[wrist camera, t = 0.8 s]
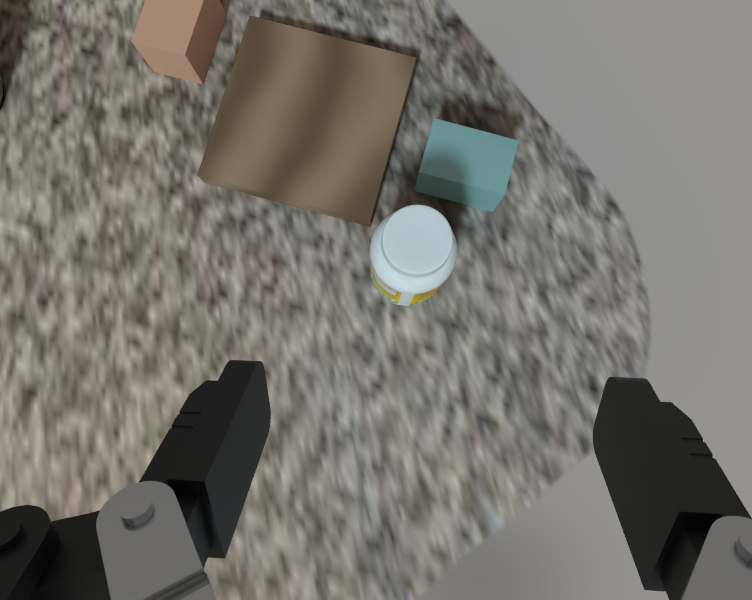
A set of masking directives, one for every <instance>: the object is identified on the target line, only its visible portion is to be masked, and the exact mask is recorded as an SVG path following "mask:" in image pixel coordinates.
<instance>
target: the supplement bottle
mask: <svg viewBox="0 0 752 600" xmlns="http://www.w3.org/2000/svg"><path fill="white" fill-rule="evenodd" d="M456 259H457V243H456V239H455V236H454V234H453V232H452V230H451V227H450V225H449V223H448V221H447V220H446V218H445V217H444V216H443V215H442V214H441V213H440V212H439V211H437V210H435V209H433V208H431V207H429V206H425V205H410V206H406V207H404V208H401V209H399V210H398V211H396V212H394V213H392V214H390V215H389V216H387V217H386V218H385V219H384V220H383V221H382V222H381V223H380V224H379V225H378V227H377V228H376V230H375V232H374V234H373V236H372V239H371V244H370V271H371V278H372V281H373V284H374V286H375V288H376V289H377V291H378V292H379V293H380V294H381V295H382V296H383V297H384V298H385V299H387V300H388V301H390V302H392V303H395V304H398V305H405V306H409V305H416V304H419V303H422V302H424V301H425V300H427V299H429V298H430V297H431V296H432V295H433V294H434V293H435V292H436V291H437V290H438V289H439V288H440V286H441V285H442V284H443V283H444V282H445V280H446V279H447V278H448V277H449V275H450V274H451V272H452V270H453V268H454V266H455V263H456Z"/></svg>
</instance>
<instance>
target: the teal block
mask: <svg viewBox="0 0 752 600" xmlns="http://www.w3.org/2000/svg"><path fill="white" fill-rule="evenodd" d="M518 142H519V140H515V139H511V138H507V137H503V136H500V135H496V134H492V133H488V132H485V131H481V130H477V129H473V128H470V127H466V126H462V125H458V124H454V123H451V122H447V121H443V120H439V119H436V118H434V120H433V123H432V127H431V131H430V134H429V138H428V141H427V145H426V148H425V152H424V155H423V159H422V162H421V166H420V169H419V173H418V178H417V183H416V187H415V191H417V192H420V193H424V194H428V195H431V196H435V197H439V198H442V199H446V200H450V201H454V202H457V203H461V204H465V205H468V206H472V207H476V208H479V209H483V210H487V211H491V212H493V210H494V209H495V208H496V206H497V205H498V203H499V202H500V201H501V199H502V198H503V197H504V195H505V192H506V188H507V184H508V180H509V176H510V173H511V169H512V165H513V161H514V157H515V153H516V150H517V146H518Z"/></svg>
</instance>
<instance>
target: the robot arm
mask: <svg viewBox="0 0 752 600" xmlns="http://www.w3.org/2000/svg"><path fill="white" fill-rule="evenodd" d="M2 96H3V81H2V75H1V71H0V103H1V99H2ZM270 420H271V410H270V403H269V396H268V390H267V383H266V377H265V370H264V366H263V363H262V362H261V361H242V360H230V361H229V362H228V363H227V364H226V366H225V368H224V370H223V372H222V374H221V376H220V378H219V380H218V381H209V380H206V381H205V382H204V383H203V384H201V385H200V386H199V387H198V388H197V389H195V390H194V391H193V392H192V393H191V394H190V395H189V396H188V398H187V400H186V401H185V403H184V405H183V407H182V408H181V410H180V414H179V415H177V417H176V419H175V421H174V422H173V424H172V428H171V429H169V431H168V433H167V434H166V436H165V438H164V440H163V441H162V443H161V445H160V447H159V448H158V450H157V452H156V454H155V455H154V457H153V459H152V461H151V462H150V464H149V466H148V468H147V469H146V471H145V473H144V475H143V476H142V478H141V480H140V481H139V483H135V484H133V485H130V486H128V487H126V488H124V489H122V490H120V491H119V492H117V493H116V494H115V495H113V496H112V497H111V498H110V499H109V500H108V501H107V502H106V503H105V504H104V506H103V507H102V509H101V510H100V511H96V512H93V513H89V514H84V515H79V516H75V517H70V518H65V519H61V520H56V521H52V522H51V520H50V518H49V516H48V514H47V513H46V511H45V510H43V509H42V508H40V507H37V506H31V505H24V506H17V507H13V508H10V509H7V510H4V511H2V512H0V600H216V597H215V595H214V592H213V589H212V587H211V584H210V581H209V579H208V577H207V574H206V573H205V572H204V570H203V569H204V566H205V563H206V561H207V558H208V557H212V558H225V557H226V554H227V551H228V548H229V545H230V543H231V540H232V537H233V534H234V531H235V528H236V525H237V523H238V520H239V517H240V514H241V511H242V508H243V505H244V502H245V500H246V497H247V494H248V491H249V488H250V485H251V482H252V480H253V477H254V474H255V471H256V468H257V465H258V462H259V459H260V457H261V454H262V451H263V448H264V445H265V442H266V439H267V436H268V433H269V428H270ZM593 445H594V450H595V454H596V457H597V460H598V462H599V465H600V468H601V471H602V474H603V476H604V479H605V482H606V485H607V487H608V490H609V493H610V496H611V499H612V501H613V504H614V506H615V509H616V512H617V515H618V518H619V521H620V523H621V526H622V529H623V532H624V534H625V537H626V540H627V543H628V545H629V548H630V551H631V554H632V556H633V559H634V562H635V565H636V567H637V570H638V573H639V576H640V579H641V582H642V584H643V587H644V590H653V591H666V592H667V595H668V598H669V600H752V518H751V517H750V515H749V514H748V512H747V510H746V508H745V507H744V505H743V504H742V502H741V500H740V499H739V497H738V495H737V494H736V492H735V490H734V489H733V487H732V486H731V484H730V482H729V481H728V479H727V477H726V476H725V474H724V472H723V471H722V469H721V467H720V466H719V464H718V463H717V461H716V459H713V457H712V453H711V451H710V449H709V448H708V446H707V445H706V443H705V442H703V438H702V436H701V435H700V433H699V431H698V430H697V428H696V427H695V425H694V423H693V422H692V420H691V419H690V418H689V417H688V416H687V415H685V414H684V413H683V412H682V411H681V410H679V409H678V408H677V407H676V406H675V405H674V404H673V403H671V402H660V400H659V399H658V397H657V395H656V393H655V392H654V390H653V388H652V386H651V384H650V383H649V381H648V380H647V379H644V378H623V377H610V378H608V380H607V382H606V384H605V388H604V391H603V395H602V398H601V402H600V406H599V409H598V413H597V416H596V420H595V424H594V429H593Z"/></svg>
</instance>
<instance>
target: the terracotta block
mask: <svg viewBox="0 0 752 600" xmlns="http://www.w3.org/2000/svg"><path fill="white" fill-rule="evenodd" d="M225 18H226V13H225V11H224V9H223V6H222V4H221V2H220V0H145V3H144V6H143V9H142V12H141V14H140V17H139V20H138V23H137V26H136V28H135V31H134V34H133V37H132V39H131V42H132V43H133V44H134V46H135V47H136V48H137V50H138V51H139V52H140V54H141V55H142V56H143V58H144V59H145V60H146V62H147V63H148V64H149V66H150V67H151V68H152V70H153V71H154V72H157V73H161V74H165V75H169V76H172V77H176V78H180V79H184V80H188V81H192V82H196V83H200V84H204V81H205V78H206V75H207V72H208V69H209V66H210V63H211V60H212V57H213V54H214V51H215V48H216V45H217V42H218V39H219V36H220V33H221V30H222V27H223V24H224V21H225Z"/></svg>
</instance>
